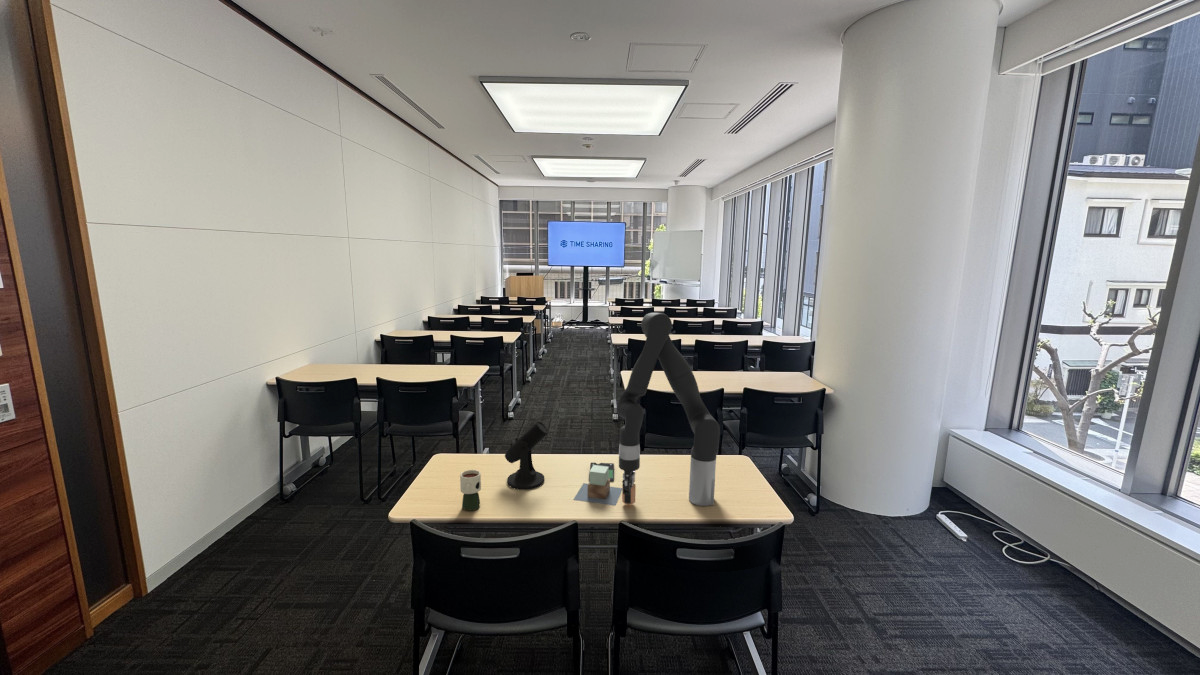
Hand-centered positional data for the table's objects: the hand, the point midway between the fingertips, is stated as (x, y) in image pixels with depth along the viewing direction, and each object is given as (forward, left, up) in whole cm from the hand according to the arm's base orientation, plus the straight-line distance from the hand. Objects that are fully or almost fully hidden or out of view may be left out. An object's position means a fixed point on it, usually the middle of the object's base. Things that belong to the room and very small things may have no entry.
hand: (628, 499), depth 176 cm
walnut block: (+13, -5, -2) cm, 14 cm away
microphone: (+44, -9, -3) cm, 45 cm away
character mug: (+55, +16, -3) cm, 57 cm away
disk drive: (+16, -23, -4) cm, 28 cm away
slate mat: (+13, -5, -3) cm, 14 cm away
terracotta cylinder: (0, 0, -1) cm, 1 cm away
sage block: (+13, -5, +3) cm, 14 cm away
